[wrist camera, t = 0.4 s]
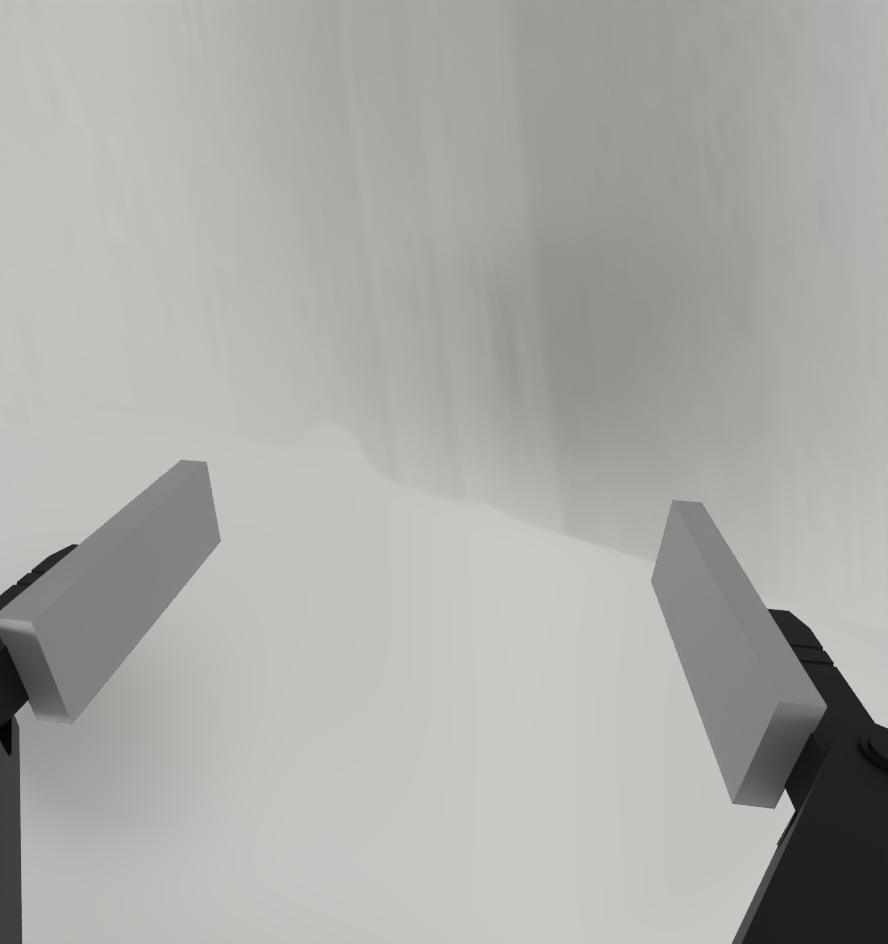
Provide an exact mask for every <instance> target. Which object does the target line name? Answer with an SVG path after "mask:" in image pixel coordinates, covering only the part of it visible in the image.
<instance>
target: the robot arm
mask: <svg viewBox="0 0 888 944" xmlns="http://www.w3.org/2000/svg"><path fill="white" fill-rule="evenodd" d="M220 541H221V540H220V534H219V529H218V523H217V518H216V512H215V506H214V501H213V496H212V489H211V484H210V478H209V473H208V467H207V462H201V461H188V460H180V461H179V462H178V463H177V464H176V465H174V466H173V467H172V468H171V469H170V470H169V471H167V472H166V473H165V474H164V475H162V476H161V477H160V478H159V479H158V480H156V481H155V482H154V483H153V484H152V485H150V486H149V487H148V488H147V489H146V490H144V491H143V492H142V493H141V494H140V495H138V496H137V497H136V498H135V499H134V500H132V501H131V502H130V503H129V504H128V505H126V506H125V507H124V508H123V509H122V510H120V511H119V512H118V513H117V514H116V515H114V516H113V517H112V518H111V519H110V520H108V521H107V522H106V523H105V524H104V525H102V526H101V527H100V528H99V529H98V530H96V531H95V532H94V533H93V534H92V535H90V536H89V537H88V538H87V539H86V540H84V541H83V542H82V543H81V544H80V545H75V544H73V545H70V546H68V547H66V548H64V549H62V550H60V551H58V552H56V553H54V554H52V555H51V556H49V557H47V558H46V559H45V560H44V561H43V562H41V563H40V564H39V565H37V566H36V567H35V568H34V569H32V572H31V573H27V574H26V575H25V576H24V577H22V578H21V579H20V580H19V581H18V582H17V585H13V586H11V587H10V588H9V589H8V590H6V591H5V592H4V593H3V594H1V595H0V944H22V913H21V912H22V909H21V908H22V906H21V833H20V832H21V829H20V760H19V759H20V757H19V756H20V755H19V754H20V753H19V725H18V723H17V720H16V718H15V716H14V714H15V713H16V712H17V711H18V710H19V709H20V708H21V707H22V706H23V705H24V704H25V702H27V701H29V703H30V705H31V707H32V710H33V712H34V714H35V716H36V718H37V720H42V721H50V722H59V723H67V724H73V723H74V721H75V720H76V719H77V717H78V716H79V715H80V714H81V713H82V712H83V710H84V709H85V708H86V706H87V705H88V704H89V703H90V702H91V700H92V699H93V698H94V697H95V696H96V694H97V693H98V692H99V691H100V689H101V688H102V687H103V686H104V684H105V683H106V682H107V681H108V679H109V678H110V677H111V676H112V675H113V673H114V672H115V671H116V669H117V668H118V667H119V666H120V665H121V663H122V662H123V661H124V660H125V658H126V657H127V656H128V654H130V652H131V651H132V650H133V649H134V647H135V646H136V645H137V644H138V642H139V641H140V640H141V639H142V637H143V636H144V635H145V634H146V633H147V631H148V630H149V629H150V628H151V626H152V625H153V624H154V623H155V622H156V620H157V619H158V618H159V617H160V615H161V614H162V613H163V612H164V610H165V609H166V608H167V607H168V606H169V604H170V603H171V602H172V601H173V599H174V598H175V597H176V596H177V594H178V593H179V592H180V591H181V590H182V588H183V587H184V586H185V585H186V583H187V582H188V581H189V580H190V578H191V577H192V576H193V575H194V574H195V572H196V571H197V570H198V569H199V567H200V566H201V565H202V564H203V562H204V561H205V560H206V559H207V557H208V556H209V555H210V554H211V553H212V551H213V550H214V549H215V548H216V546H217V545H218V544H219V542H220ZM651 582H652V585H653V588H654V590H655V593H656V596H657V598H658V601H659V604H660V607H661V610H662V612H663V615H664V618H665V621H666V623H667V626H668V629H669V631H670V634H671V637H672V639H673V642H674V645H675V648H676V651H677V653H678V656H679V659H680V662H681V664H682V667H683V670H684V673H685V675H686V678H687V681H688V683H689V686H690V689H691V691H692V694H693V697H694V700H695V703H696V705H697V708H698V710H699V714H700V716H701V719H702V722H703V725H704V727H705V730H706V733H707V735H708V738H709V741H710V744H711V746H712V749H713V752H714V754H715V757H716V760H717V763H718V766H719V768H720V771H721V774H722V776H723V779H724V782H725V785H726V787H727V790H728V793H729V795H730V798H731V801H732V803H733V804H740V805H749V806H756V807H765V808H773V809H774V808H775V807H776V805H777V803H778V801H779V799H780V797H781V796H782V794H783V792H784V790H785V789H786V791H787V793H788V795H789V797H790V800H791V802H792V804H793V806H794V808H795V812H794V814H793V816H792V818H791V820H790V821H789V823H788V825H787V827H786V829H785V831H784V832H783V834H782V837H781V838H780V840H779V842H778V843H777V845H778V847H777V849H776V851H775V853H774V856H773V858H772V860H771V862H770V864H769V866H768V868H767V870H766V872H765V875H764V877H763V879H762V881H761V883H760V885H759V887H758V889H757V891H756V894H755V896H754V898H753V900H752V902H751V904H750V906H749V908H748V910H747V913H746V915H745V917H744V919H743V921H742V923H741V925H740V928H739V930H738V932H737V934H736V936H735V938H734V940H733V943H732V944H888V728H885V727H883V726H880V725H878V724H875V722H874V721H873V720H872V718H871V717H870V715H869V714H868V712H867V711H866V710H865V708H864V707H863V705H862V704H861V702H860V701H859V699H858V698H857V696H856V695H855V693H854V692H853V691H852V689H851V687H850V686H849V685H848V683H847V682H846V680H845V679H844V677H843V676H842V674H841V673H840V672H839V670H838V669H837V667H834V666H833V664H834V663H833V661H832V660H831V658H830V657H829V655H828V654H827V653H826V651H823V647H822V645H821V644H820V642H819V641H818V640H817V638H816V637H815V635H814V634H813V632H812V631H811V629H810V628H809V627H808V626H806V625H805V624H804V623H803V622H802V621H800V620H799V619H798V618H797V617H796V616H794V615H793V614H792V613H790V612H789V611H784V610H773V609H767V608H766V606H765V605H764V603H763V601H762V600H761V598H760V597H759V595H758V593H757V592H756V590H755V588H754V587H753V585H752V584H751V582H750V580H749V579H748V577H747V575H746V574H745V572H744V571H743V569H742V567H741V566H740V564H739V563H738V561H737V559H736V558H735V556H734V554H733V553H732V551H731V550H730V548H729V546H728V545H727V543H726V541H725V540H724V538H723V537H722V535H721V533H720V532H719V530H718V528H717V527H716V525H715V524H714V522H713V520H712V519H711V517H710V516H709V514H708V512H707V511H706V509H705V507H704V506H703V504H702V503H700V502H688V501H675V500H672V504H671V508H670V512H669V516H668V519H667V523H666V527H665V531H664V534H663V538H662V542H661V546H660V550H659V553H658V557H657V561H656V565H655V568H654V572H653V576H652V580H651Z"/></svg>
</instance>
